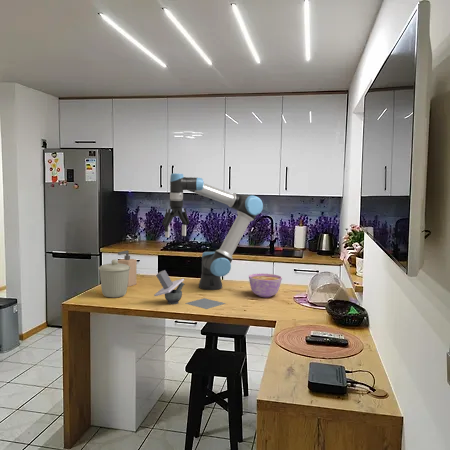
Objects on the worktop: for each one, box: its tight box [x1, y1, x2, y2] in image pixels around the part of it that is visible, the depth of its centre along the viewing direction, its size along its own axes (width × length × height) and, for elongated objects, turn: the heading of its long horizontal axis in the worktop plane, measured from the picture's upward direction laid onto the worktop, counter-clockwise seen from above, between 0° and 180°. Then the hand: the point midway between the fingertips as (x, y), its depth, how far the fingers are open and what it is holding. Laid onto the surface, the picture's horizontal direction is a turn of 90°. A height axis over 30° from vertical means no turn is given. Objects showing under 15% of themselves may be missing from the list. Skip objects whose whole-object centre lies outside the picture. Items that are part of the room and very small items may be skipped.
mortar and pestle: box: [164, 281, 185, 305], centre depth 245 cm, size 11×9×12 cm
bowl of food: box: [248, 273, 283, 298], centre depth 268 cm, size 20×20×12 cm
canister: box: [97, 259, 131, 299], centre depth 258 cm, size 18×18×21 cm
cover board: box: [153, 269, 185, 297], centre depth 243 cm, size 13×13×10 cm
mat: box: [185, 297, 227, 310], centre depth 246 cm, size 16×16×1 cm
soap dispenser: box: [117, 250, 138, 288], centre depth 285 cm, size 13×9×22 cm
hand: (175, 236), depth 262 cm, fingers open, 13 cm apart
